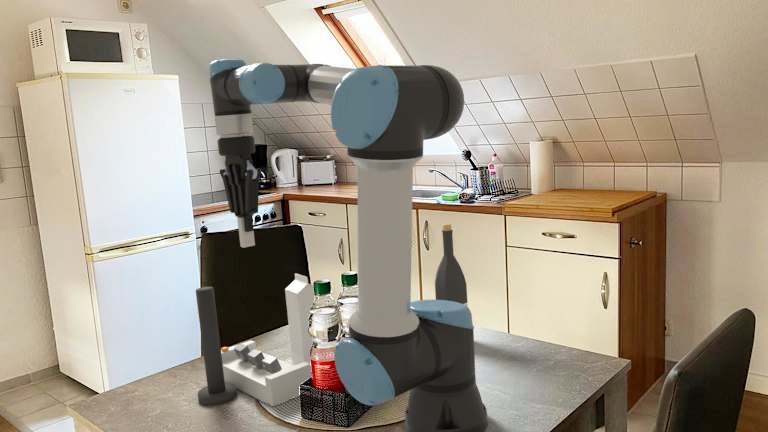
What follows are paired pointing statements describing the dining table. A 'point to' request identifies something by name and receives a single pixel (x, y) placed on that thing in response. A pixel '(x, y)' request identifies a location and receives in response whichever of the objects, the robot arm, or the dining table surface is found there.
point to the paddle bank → (257, 358)
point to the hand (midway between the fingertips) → (247, 246)
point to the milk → (299, 318)
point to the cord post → (212, 352)
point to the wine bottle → (450, 273)
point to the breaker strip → (263, 377)
